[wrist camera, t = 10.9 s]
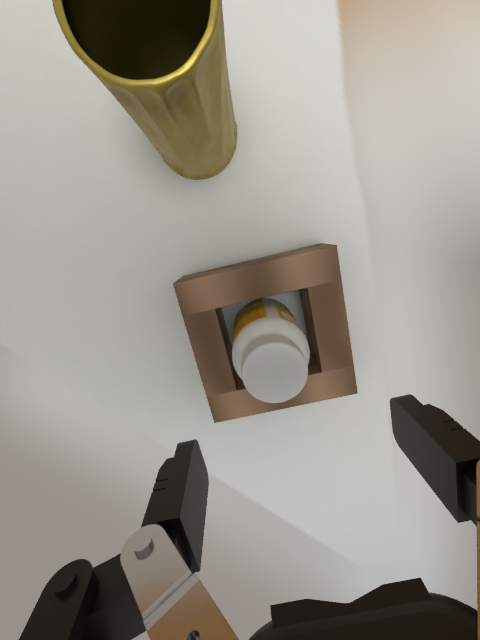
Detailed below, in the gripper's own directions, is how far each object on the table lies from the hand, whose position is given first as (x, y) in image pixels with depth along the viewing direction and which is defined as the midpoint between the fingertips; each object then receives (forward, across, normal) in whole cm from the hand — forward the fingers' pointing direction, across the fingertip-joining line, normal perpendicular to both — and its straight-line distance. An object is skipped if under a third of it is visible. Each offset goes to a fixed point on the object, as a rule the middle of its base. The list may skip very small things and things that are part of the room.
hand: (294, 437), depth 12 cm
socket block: (+15, 0, 0) cm, 15 cm away
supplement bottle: (+16, 0, 0) cm, 16 cm away
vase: (+16, +2, -16) cm, 22 cm away
